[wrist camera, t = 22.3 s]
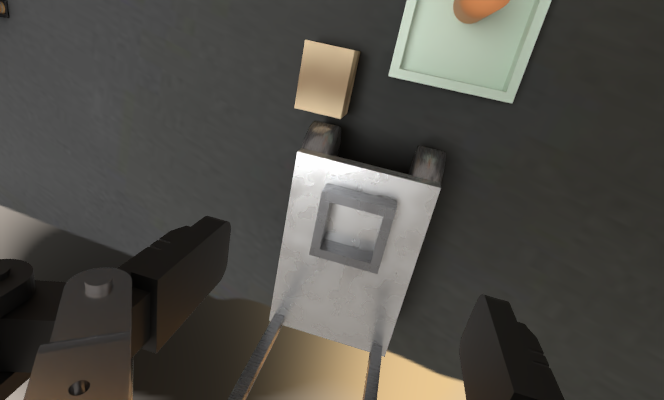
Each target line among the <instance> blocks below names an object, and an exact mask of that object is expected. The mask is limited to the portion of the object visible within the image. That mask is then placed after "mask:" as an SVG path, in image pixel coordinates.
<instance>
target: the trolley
mask: <svg viewBox="0 0 664 400" xmlns="http://www.w3.org/2000/svg"><path fill="white" fill-rule="evenodd" d="M340 143H341V127H340V126H336V125H332V124H328V123H324V122H320V121H314V122H313V123H312V124H311V125H310V127H309V129H308V131H307V133H306V136H305V138H304V141H303V144H302V147H301V149H300V150H299V151H297V156H296V162H295V168H294V174H293V180H292V186H291V192H290V198H289V204H288V210H287V216H286V222H285V228H284V234H283V240H282V246H281V252H280V258H279V264H278V270H277V276H276V282H275V288H274V294H273V300H272V306H271V313H270V319H269V321H271V322H270V323H269V326H268V327H267V329H266V331H265V333H264V335H263V336H262V338H261V340H260V342H259V343H258V345H257V347H256V349H255V351H254V353H253V354H252V356H251V358H250V360H249V362H248V364H247V366H246V367H245V369H244V371H243V373H242V374H241V376H240V378H239V380H238V382H237V383H236V385H235V387H234V389H233V391H232V393H231V394H230V396H229V398H228V400H245V399H246V398H247V396H248V394H249V392H250V390H251V387H252V385H253V384H254V381H255V380H256V378H257V375H258V374H259V371H260V369H261V367H262V365H263V363H264V361H265V359H266V357H267V355H268V353H269V351H270V349H271V347H272V345H273V343H274V341H275V339H276V337H277V335H278V333H279V331H280V329H281V327H282V325H285V326H288V327H291V328H294V329H297V330H301V331H304V332H307V333H310V334H313V335H317V336H320V337H323V338H326V339H329V340H333V341H336V342H339V343H342V344H345V345H349V346H352V347H355V348H358V349H361V350H365V351H368V352H370V354H369V361H368V368H367V374H366V381H365V388H364V394H363V400H377V391H378V383H379V373H380V365H381V356H384V357H385V354H386V351H387V348H388V345H389V342H390V339H391V336H392V333H393V330H394V327H395V324H396V321H397V318H398V315H399V312H400V309H401V306H402V303H403V300H404V297H405V294H406V291H407V288H408V285H409V282H410V279H411V276H412V273H413V270H414V267H415V264H416V261H417V258H418V255H419V252H420V249H421V246H422V243H423V240H424V237H425V234H426V231H427V228H428V225H429V222H430V219H431V216H432V213H433V210H434V207H435V205H436V202H437V199H438V196H439V193H440V190H441V182H442V177H443V173H444V167H445V159H446V154H445V152H444V151H439V150H435V149H431V148H427V147H423V146H419V145H418V147H417V149H416V151H415V154H414V157H413V160H412V163H411V166H410V169H409V173H408V174H405V173H401V172H397V171H393V170H389V169H385V168H381V167H377V166H373V165H369V164H365V163H361V162H357V161H353V160H349V159H345V158H341V157H338V154H339V149H340Z"/></svg>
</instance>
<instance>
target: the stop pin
mask: <svg viewBox="0 0 664 400" xmlns="http://www.w3.org/2000/svg"><path fill="white" fill-rule="evenodd" d="M509 1H510V0H454V4H453V11H454V14H455V16H456V18H457V19H458V20H459V21H461V22H463V23H466V24H472V23H476V22H478V21H480V20H482V19H483V18H485V17H487V16H489V15H491V14H492V13H494V12H496V11H498V10H500V9H501V8H503V7H504V6H505V5H507V4H508V3H509Z"/></svg>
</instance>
